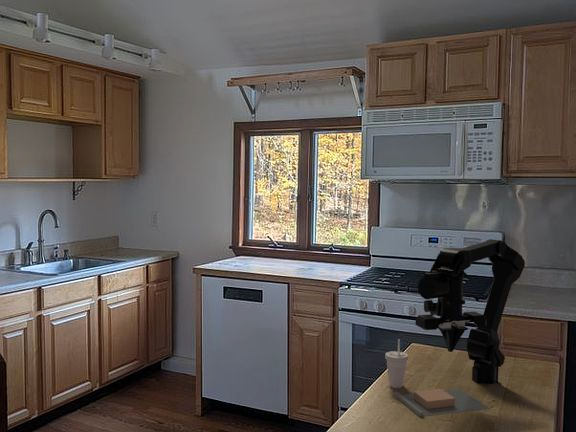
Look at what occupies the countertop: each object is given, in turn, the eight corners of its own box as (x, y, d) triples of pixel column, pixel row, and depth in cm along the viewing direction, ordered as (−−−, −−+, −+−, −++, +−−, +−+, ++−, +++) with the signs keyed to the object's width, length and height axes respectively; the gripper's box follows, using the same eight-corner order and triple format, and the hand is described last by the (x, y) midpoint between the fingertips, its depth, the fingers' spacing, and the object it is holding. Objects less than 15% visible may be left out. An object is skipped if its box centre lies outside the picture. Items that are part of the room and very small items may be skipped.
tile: (440, 388, 155) (413, 391, 152) (455, 398, 148) (427, 401, 146) (440, 396, 155) (413, 399, 153) (454, 406, 148) (426, 409, 146)
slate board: (459, 391, 160) (459, 385, 160) (490, 411, 147) (490, 404, 147) (394, 398, 155) (394, 392, 155) (419, 419, 142) (419, 412, 141)
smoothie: (407, 393, 159) (408, 343, 158) (384, 391, 160) (384, 341, 159) (407, 384, 165) (408, 336, 164) (384, 383, 167) (385, 335, 166)
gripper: (465, 287, 167) (463, 340, 168) (406, 291, 162) (405, 345, 163) (488, 295, 156) (486, 352, 157) (426, 299, 151) (425, 357, 152)
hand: (450, 351), depth 157 cm, fingers closed
